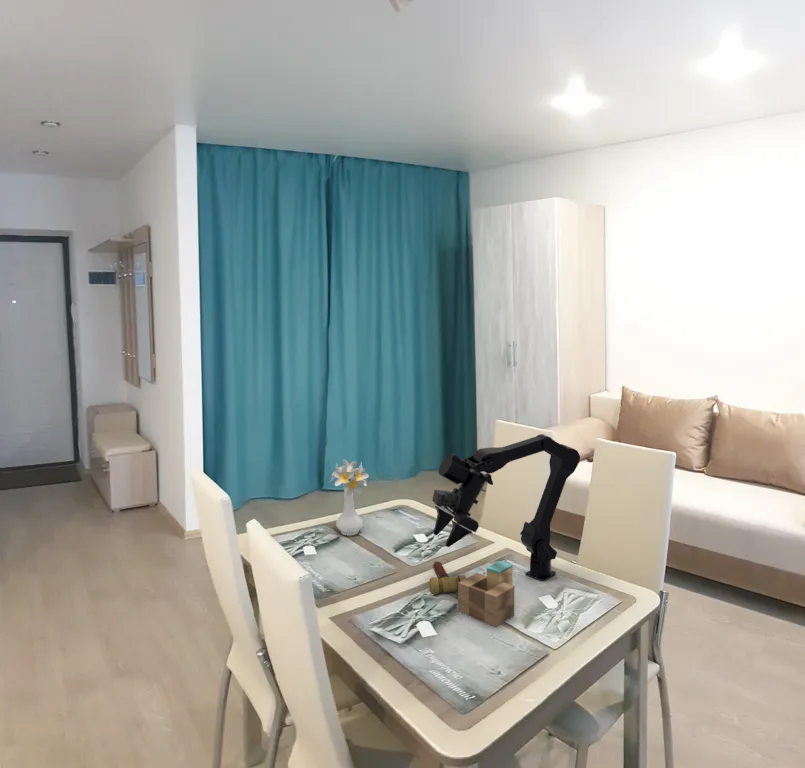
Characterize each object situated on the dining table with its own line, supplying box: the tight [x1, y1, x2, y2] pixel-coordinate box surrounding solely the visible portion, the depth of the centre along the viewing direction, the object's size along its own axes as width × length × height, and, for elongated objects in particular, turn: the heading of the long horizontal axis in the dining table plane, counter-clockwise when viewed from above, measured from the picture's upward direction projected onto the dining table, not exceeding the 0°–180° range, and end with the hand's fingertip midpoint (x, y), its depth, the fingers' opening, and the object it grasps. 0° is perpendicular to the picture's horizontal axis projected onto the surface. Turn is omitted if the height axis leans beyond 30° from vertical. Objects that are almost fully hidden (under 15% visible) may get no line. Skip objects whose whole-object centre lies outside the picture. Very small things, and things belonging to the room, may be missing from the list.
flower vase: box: [328, 459, 370, 537], centre depth 229 cm, size 13×18×25 cm
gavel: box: [428, 560, 467, 595], centre depth 194 cm, size 21×5×10 cm
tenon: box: [486, 560, 514, 591], centre depth 177 cm, size 6×4×11 cm, turn 136°
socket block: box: [457, 572, 515, 628], centre depth 173 cm, size 8×12×8 cm, turn 46°
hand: (440, 540), depth 184 cm, fingers open, 9 cm apart
